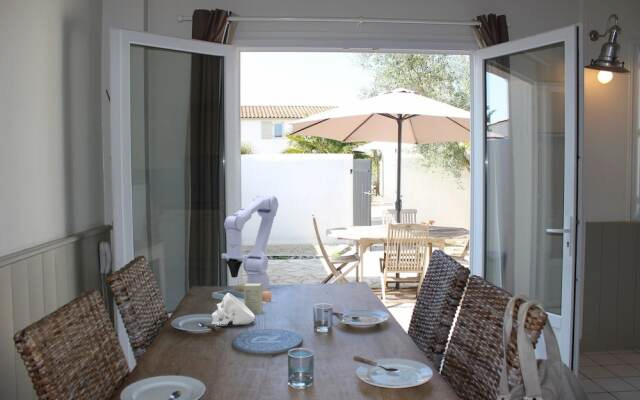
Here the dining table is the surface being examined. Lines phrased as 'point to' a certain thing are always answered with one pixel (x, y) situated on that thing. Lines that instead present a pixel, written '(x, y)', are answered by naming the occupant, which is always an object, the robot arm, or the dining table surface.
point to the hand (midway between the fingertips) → (234, 277)
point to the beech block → (239, 288)
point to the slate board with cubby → (238, 295)
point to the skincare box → (253, 298)
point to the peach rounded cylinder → (266, 296)
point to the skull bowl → (232, 312)
